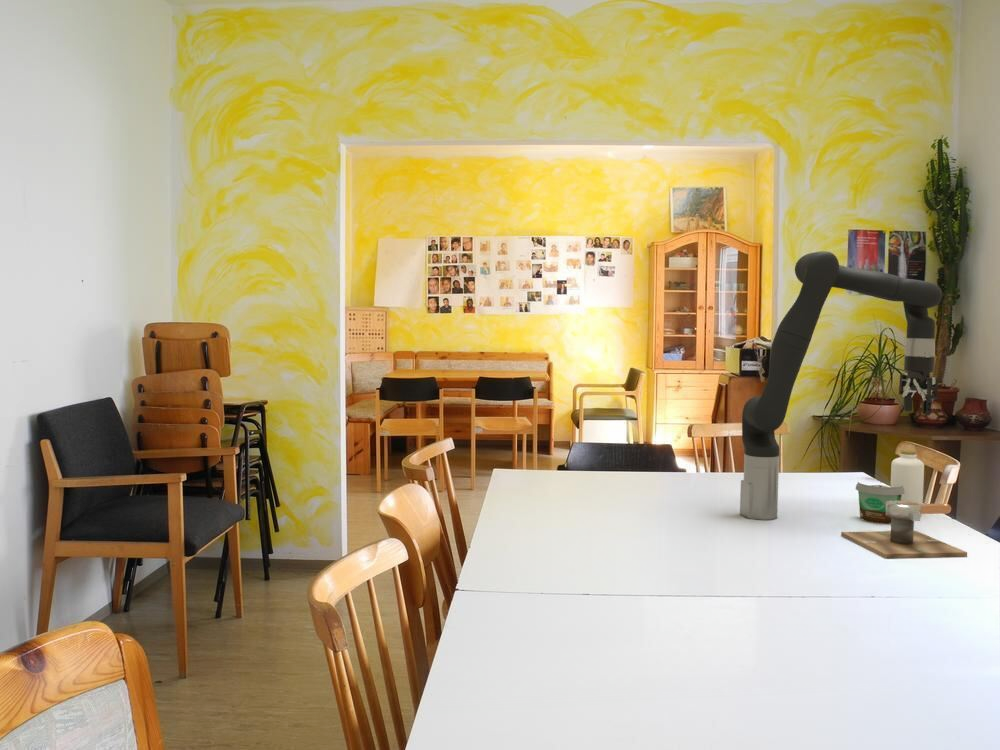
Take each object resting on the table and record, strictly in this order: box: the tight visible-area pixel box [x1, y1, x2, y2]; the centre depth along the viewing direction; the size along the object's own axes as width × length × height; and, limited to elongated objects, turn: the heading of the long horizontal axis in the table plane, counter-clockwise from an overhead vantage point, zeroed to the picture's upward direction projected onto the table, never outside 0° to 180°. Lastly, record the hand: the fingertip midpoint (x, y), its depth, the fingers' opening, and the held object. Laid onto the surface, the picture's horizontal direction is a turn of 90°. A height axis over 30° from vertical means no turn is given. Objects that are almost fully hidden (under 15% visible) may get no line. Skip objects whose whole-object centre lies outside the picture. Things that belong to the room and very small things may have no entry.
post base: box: [840, 518, 968, 559], centre depth 203 cm, size 20×20×7 cm
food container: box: [855, 481, 905, 524], centre depth 228 cm, size 12×6×10 cm, turn 62°
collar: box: [885, 501, 952, 522], centre depth 204 cm, size 16×11×3 cm
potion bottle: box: [890, 449, 925, 504], centre depth 237 cm, size 8×8×18 cm
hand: (916, 412), depth 235 cm, fingers open, 8 cm apart
